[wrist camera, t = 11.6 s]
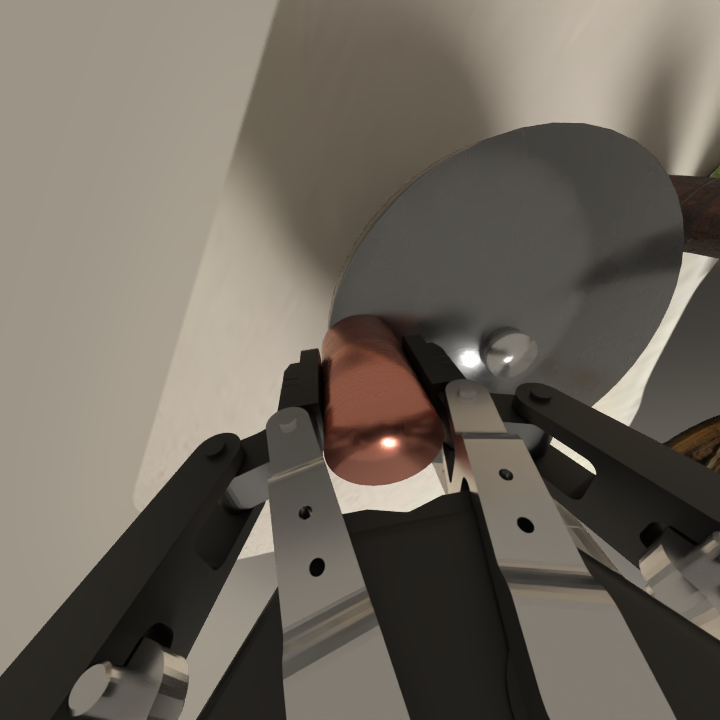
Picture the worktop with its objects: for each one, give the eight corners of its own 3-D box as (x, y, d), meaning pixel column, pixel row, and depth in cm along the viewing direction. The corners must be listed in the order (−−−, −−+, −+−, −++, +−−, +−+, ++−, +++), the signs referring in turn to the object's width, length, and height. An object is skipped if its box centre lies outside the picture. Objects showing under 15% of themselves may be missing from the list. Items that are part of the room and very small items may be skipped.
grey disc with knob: (732, 152, 12) (1191, 102, 6) (558, 439, 21) (661, 542, 15) (317, 105, 10) (315, -81, 3) (323, 454, 19) (326, 587, 12)
